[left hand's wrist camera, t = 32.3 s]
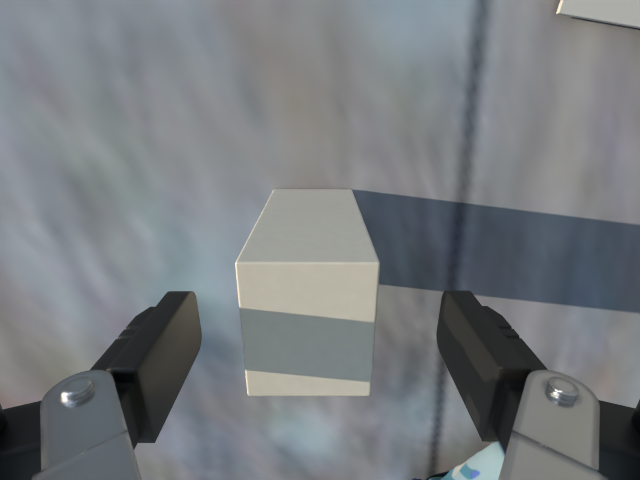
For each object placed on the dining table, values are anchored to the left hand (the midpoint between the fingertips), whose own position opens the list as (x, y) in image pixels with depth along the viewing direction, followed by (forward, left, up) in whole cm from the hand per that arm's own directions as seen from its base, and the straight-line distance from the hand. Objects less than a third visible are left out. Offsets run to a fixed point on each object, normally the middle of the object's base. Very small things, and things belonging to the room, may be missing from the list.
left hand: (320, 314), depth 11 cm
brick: (0, 0, -8) cm, 8 cm away
